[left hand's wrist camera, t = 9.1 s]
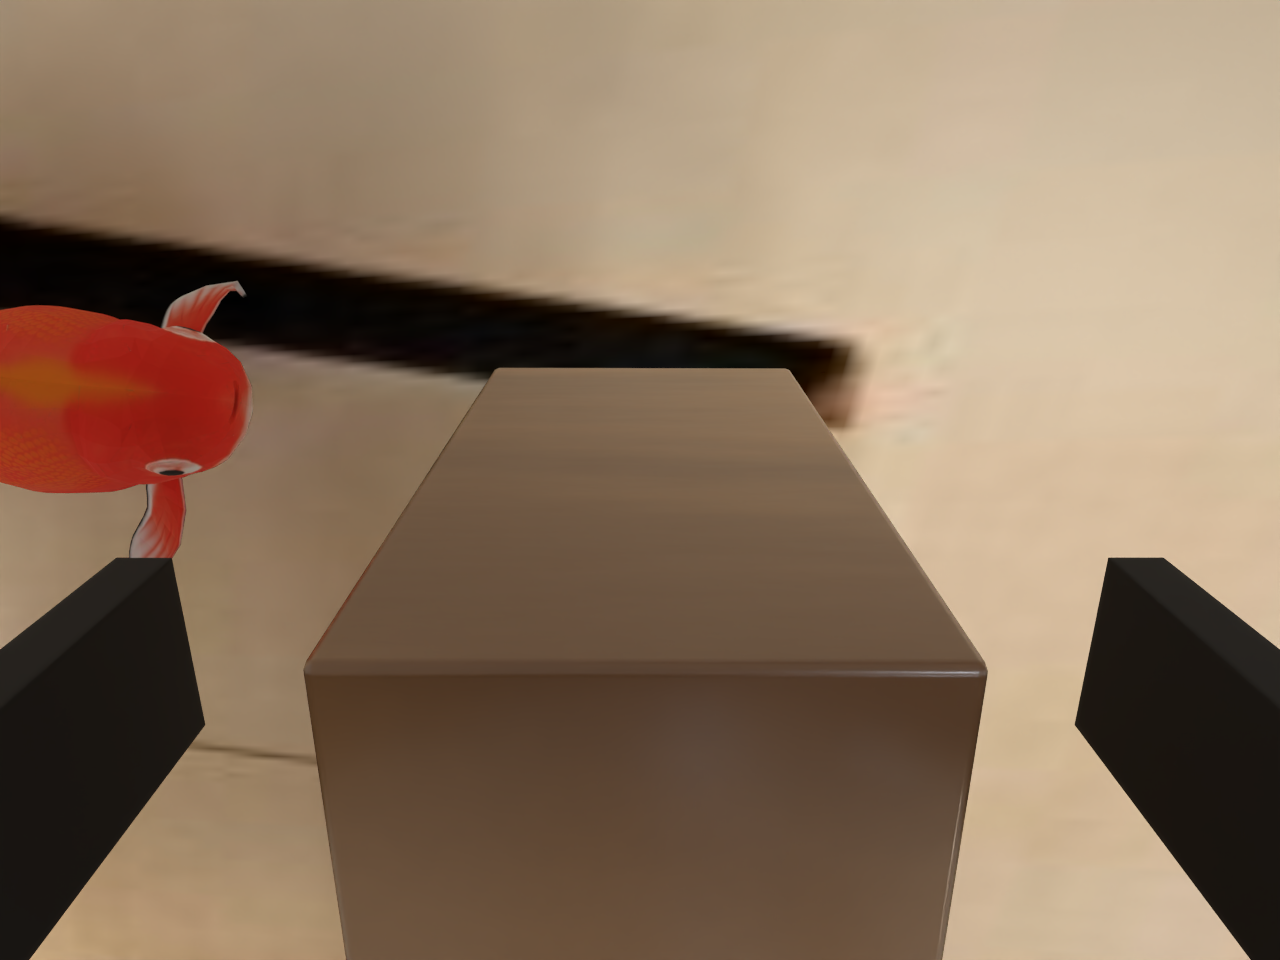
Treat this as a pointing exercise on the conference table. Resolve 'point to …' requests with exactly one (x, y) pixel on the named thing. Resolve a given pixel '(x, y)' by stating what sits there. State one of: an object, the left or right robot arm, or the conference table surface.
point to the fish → (120, 405)
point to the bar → (644, 690)
